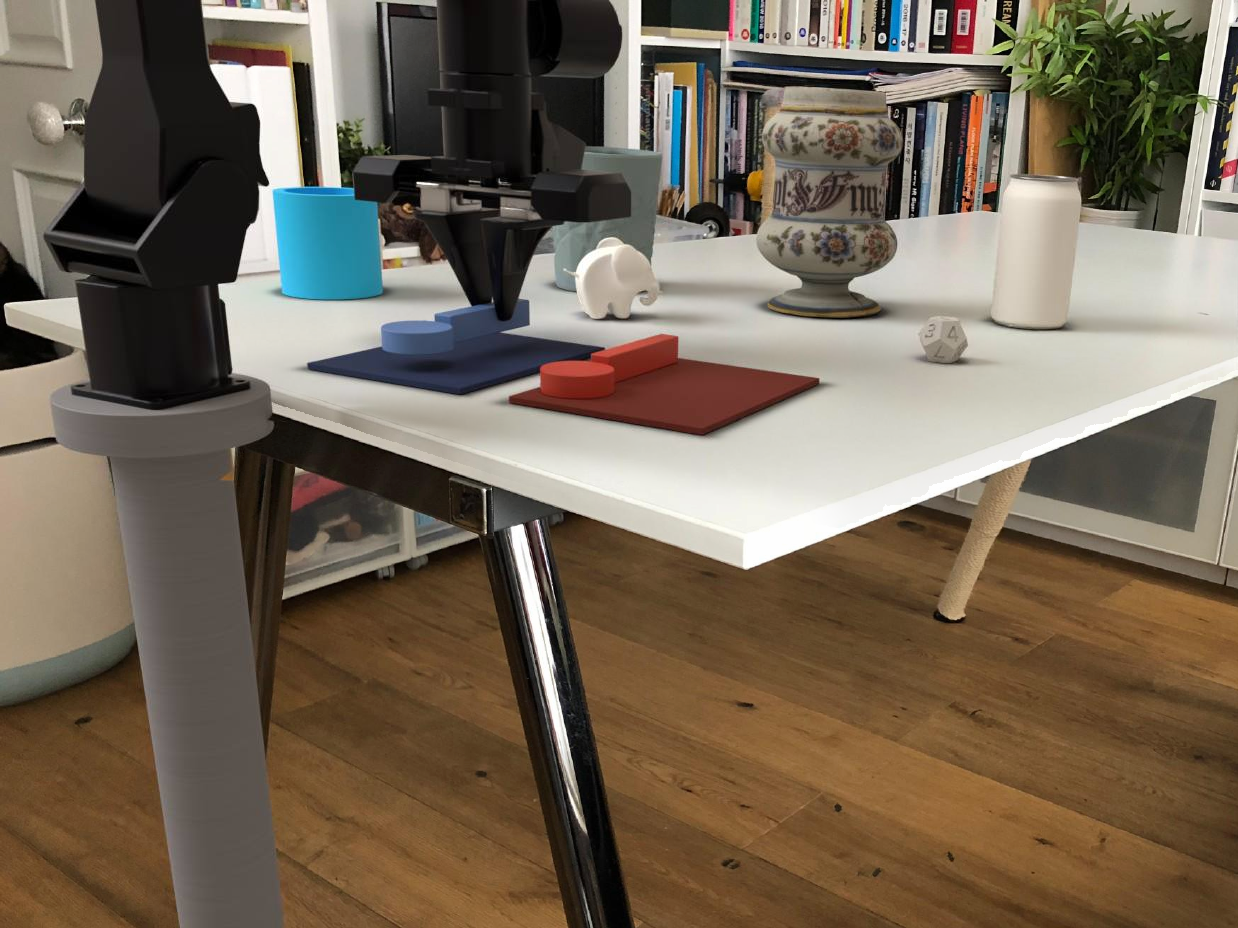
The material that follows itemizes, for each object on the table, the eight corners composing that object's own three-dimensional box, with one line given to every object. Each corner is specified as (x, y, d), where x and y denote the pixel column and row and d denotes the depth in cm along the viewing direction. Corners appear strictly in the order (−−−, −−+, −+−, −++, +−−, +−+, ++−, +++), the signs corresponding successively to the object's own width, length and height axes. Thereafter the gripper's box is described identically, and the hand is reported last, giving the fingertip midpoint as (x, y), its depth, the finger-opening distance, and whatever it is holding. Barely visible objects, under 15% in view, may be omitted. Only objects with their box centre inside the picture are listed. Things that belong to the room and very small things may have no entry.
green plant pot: (546, 277, 124) (543, 144, 119) (652, 278, 126) (653, 147, 122) (554, 294, 115) (551, 150, 110) (668, 295, 117) (670, 154, 113)
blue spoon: (423, 358, 80) (421, 329, 80) (367, 349, 82) (365, 320, 81) (548, 328, 92) (547, 302, 91) (496, 320, 93) (495, 295, 93)
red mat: (702, 435, 72) (702, 428, 72) (508, 402, 77) (508, 396, 77) (819, 384, 86) (819, 378, 86) (648, 359, 91) (648, 353, 91)
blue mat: (460, 394, 78) (460, 388, 78) (307, 369, 83) (306, 363, 83) (605, 353, 92) (605, 347, 92) (466, 333, 97) (466, 327, 96)
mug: (391, 298, 109) (385, 196, 106) (287, 300, 106) (278, 195, 103) (367, 277, 119) (360, 183, 116) (271, 279, 116) (262, 182, 113)
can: (1072, 332, 109) (1091, 181, 105) (995, 328, 109) (1011, 177, 105) (1059, 319, 115) (1076, 176, 111) (985, 315, 115) (999, 172, 111)
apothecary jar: (885, 301, 120) (900, 91, 113) (899, 323, 109) (916, 92, 102) (753, 295, 120) (761, 84, 113) (754, 317, 108) (762, 84, 102)
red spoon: (588, 403, 76) (588, 372, 76) (525, 392, 78) (524, 362, 77) (698, 365, 88) (698, 338, 87) (641, 357, 89) (641, 330, 89)
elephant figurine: (672, 323, 104) (673, 246, 102) (572, 324, 102) (571, 246, 99) (651, 308, 110) (651, 236, 108) (556, 309, 108) (554, 235, 105)
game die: (951, 354, 98) (955, 314, 96) (974, 364, 94) (978, 322, 93) (908, 355, 96) (911, 314, 95) (930, 366, 93) (934, 323, 92)
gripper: (674, 83, 87) (671, 318, 93) (449, 71, 94) (459, 291, 100) (581, 80, 78) (584, 342, 83) (338, 67, 85) (356, 309, 91)
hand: (494, 319), depth 90 cm, fingers closed on blue spoon, 1 cm apart
